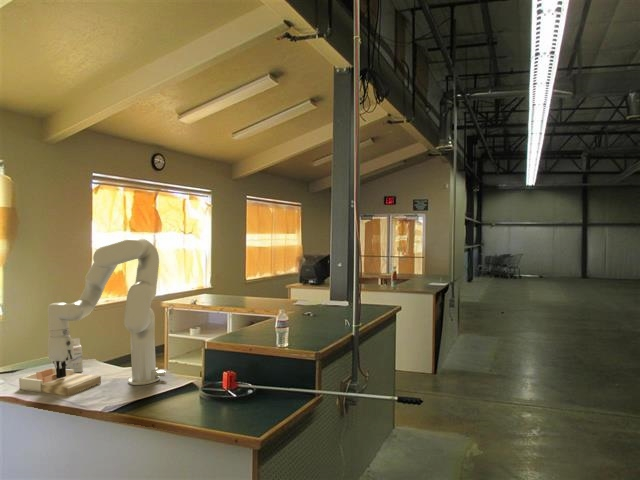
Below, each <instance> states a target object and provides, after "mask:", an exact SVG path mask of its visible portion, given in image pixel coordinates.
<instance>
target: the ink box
mask: <svg viewBox="0 0 640 480" xmlns="http://www.w3.org/2000/svg"><path fill="white" fill-rule="evenodd" d="M72 343H73V349H74V358H73V359H71V363H70V364H67V367H66V369H73V370H74V373H83V371H84V370H83V369H84V368H83V347H82V345H81V338H80V337H76V338H72Z"/></svg>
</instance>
